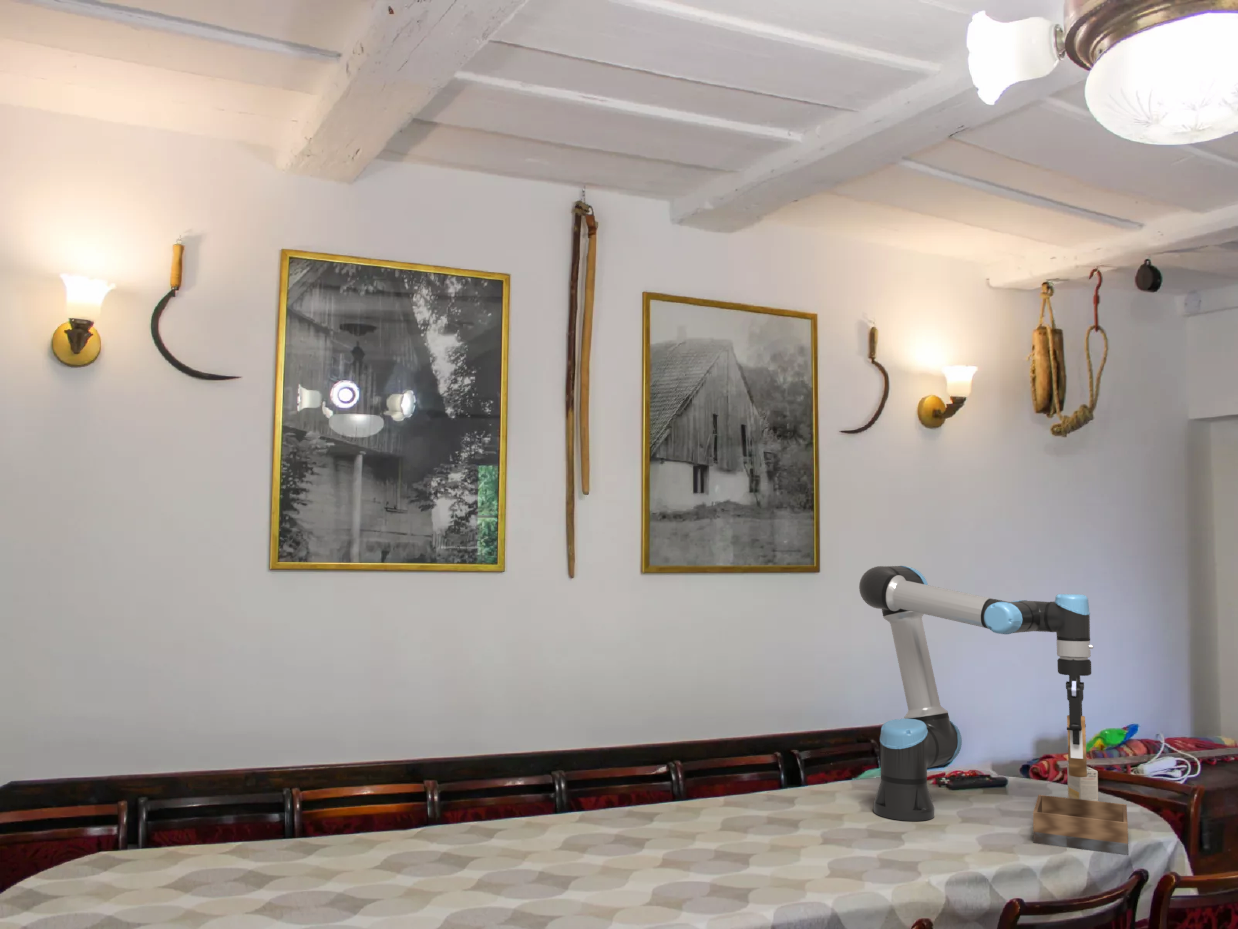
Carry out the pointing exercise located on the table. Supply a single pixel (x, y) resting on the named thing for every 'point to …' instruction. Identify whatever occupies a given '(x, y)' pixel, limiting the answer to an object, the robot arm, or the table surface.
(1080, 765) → the dowel
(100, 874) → the table surface
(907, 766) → the robot arm
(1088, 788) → the supplement box
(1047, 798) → the box
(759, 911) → the table surface
